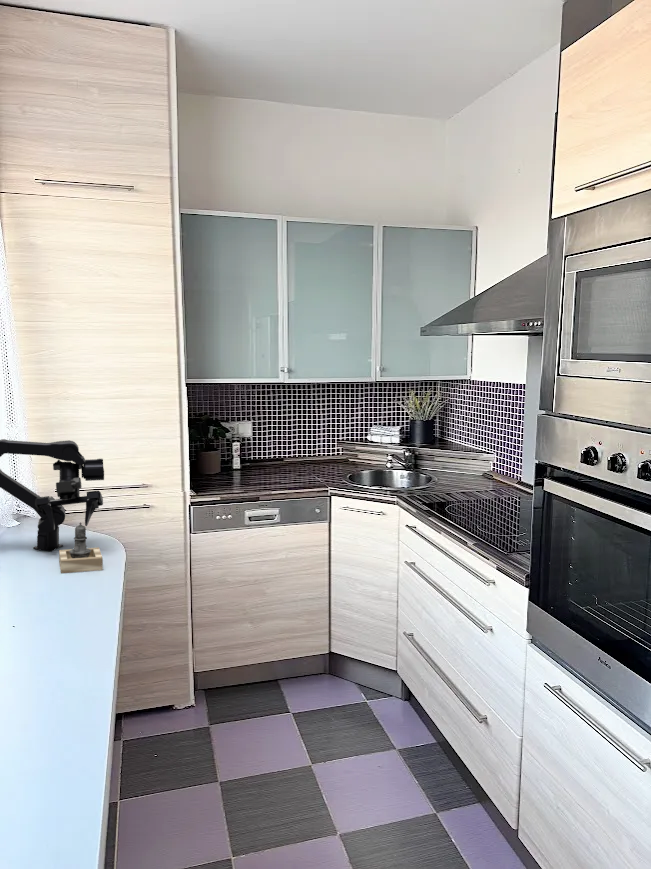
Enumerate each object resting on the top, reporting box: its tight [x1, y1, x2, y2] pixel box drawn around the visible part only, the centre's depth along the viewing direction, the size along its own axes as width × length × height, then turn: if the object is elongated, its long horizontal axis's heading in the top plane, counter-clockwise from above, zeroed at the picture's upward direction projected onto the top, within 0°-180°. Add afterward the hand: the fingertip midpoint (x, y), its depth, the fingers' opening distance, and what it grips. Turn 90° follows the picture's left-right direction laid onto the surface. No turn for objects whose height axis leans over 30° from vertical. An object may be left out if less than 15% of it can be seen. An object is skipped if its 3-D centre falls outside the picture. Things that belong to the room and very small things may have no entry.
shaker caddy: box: [58, 547, 104, 574], centre depth 190 cm, size 11×11×4 cm
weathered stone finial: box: [69, 522, 91, 558], centre depth 190 cm, size 6×6×12 cm
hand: (69, 527), depth 196 cm, fingers open, 9 cm apart
